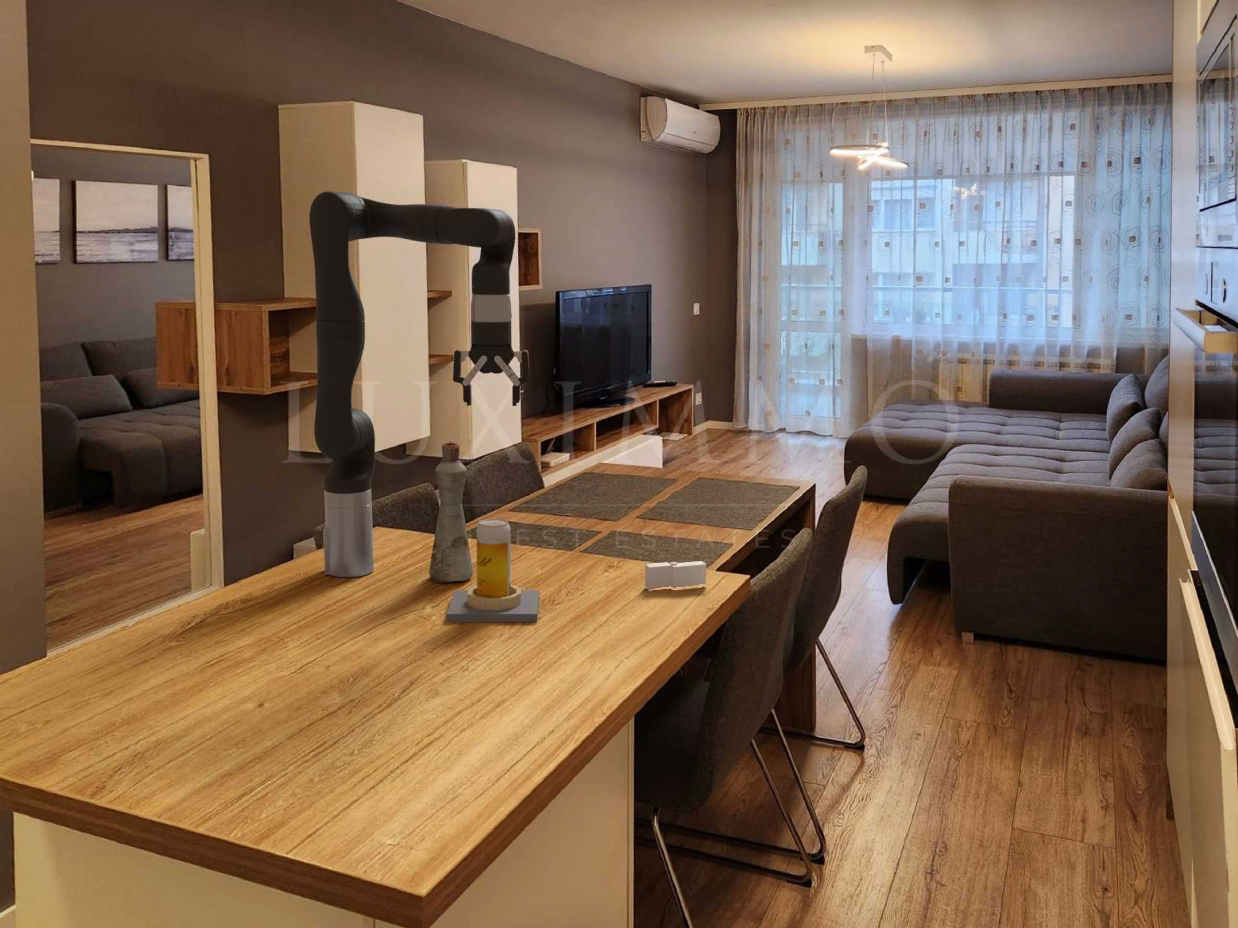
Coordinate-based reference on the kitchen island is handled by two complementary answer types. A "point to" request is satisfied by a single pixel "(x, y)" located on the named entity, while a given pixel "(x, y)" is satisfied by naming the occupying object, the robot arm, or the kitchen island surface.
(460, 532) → the bottle
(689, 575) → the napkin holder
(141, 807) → the kitchen island surface
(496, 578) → the beer can
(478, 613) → the socket board
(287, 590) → the kitchen island surface
